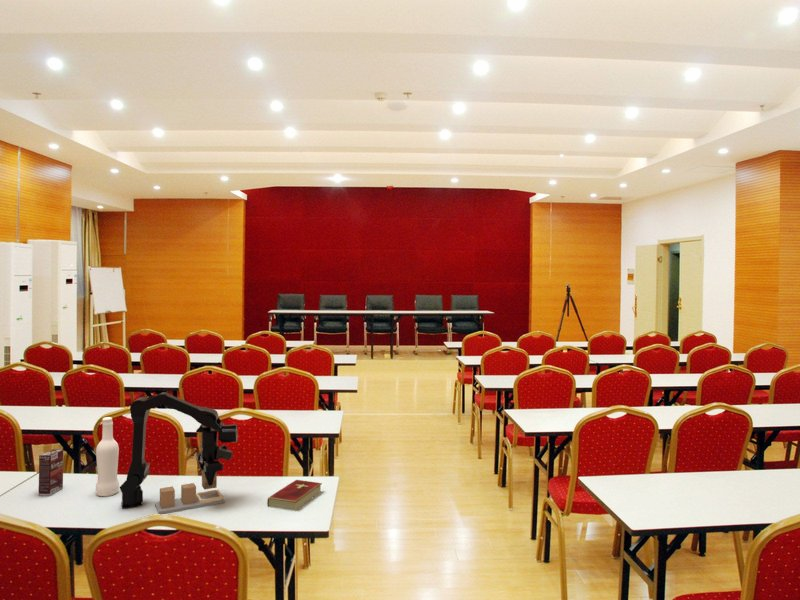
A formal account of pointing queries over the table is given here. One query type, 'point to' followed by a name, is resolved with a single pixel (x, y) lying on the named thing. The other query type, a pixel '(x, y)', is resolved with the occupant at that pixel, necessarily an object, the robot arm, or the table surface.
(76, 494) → the table surface
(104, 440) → the bottle
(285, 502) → the hardcover book
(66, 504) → the table surface
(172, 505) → the holder
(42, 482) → the supplement box
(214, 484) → the walnut block
